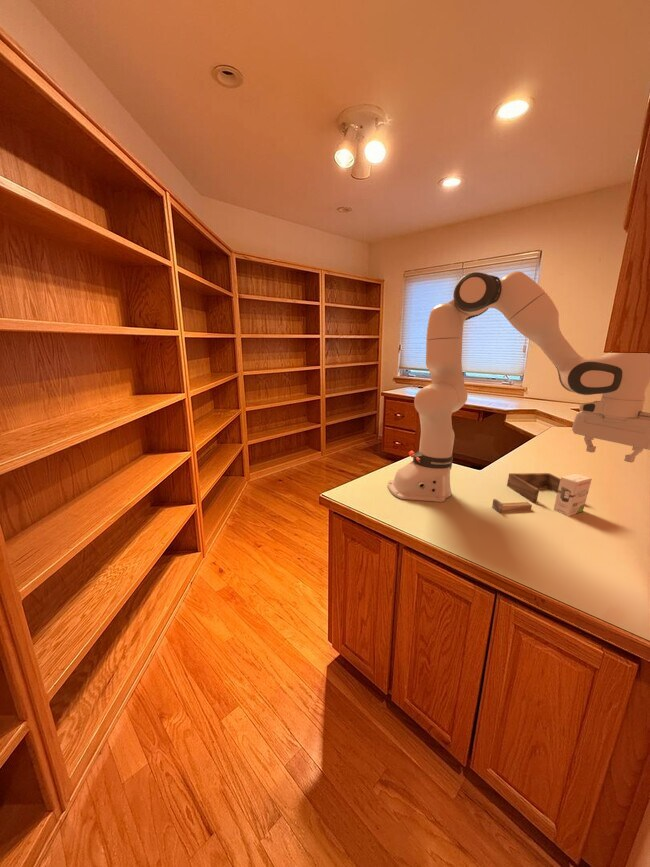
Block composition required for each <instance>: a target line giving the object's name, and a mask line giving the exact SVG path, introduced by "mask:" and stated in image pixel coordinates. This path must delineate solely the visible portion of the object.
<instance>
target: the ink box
mask: <svg viewBox="0 0 650 867" xmlns="http://www.w3.org/2000/svg"><path fill="white" fill-rule="evenodd" d="M560 479H561V480H560V484H559V488H558V493H557V492H556V497H555V502H554V506H553V510H554V511H556V512H558V513H561V514H562V515H563V514H564V515H565V516H568V517H570V516H572V515H575V514H578V513H581V512H583V511H584V509H585V506H586V502H587V499H588V494H589V490H590V487H591V483H592V478H591V477H588V476H585V475H582V474H580V473H579V474H578V473H573V474H568V475H564V476H561V477H560Z"/></svg>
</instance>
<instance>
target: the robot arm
mask: <svg viewBox="0 0 650 867" xmlns="http://www.w3.org/2000/svg"><path fill="white" fill-rule="evenodd" d="M452 297H453V298H452V300H450V301H448V302H444V303H440V304H437V305H435V306H434V307H433V308H432V309H431V311H430V312H429V313H430V314H429V316H428V321H427V322H428V323H427V328H426V341H425V342H426V344H425V345H426V346H425V365H426V368H427V369H428V371H429V375H430V380H431V383H430V384H428V385H427V384H426V385H425V386H424V387H422V388H420V390H418V391H417V393H416V394H415V396H414V399H413V400H414V401H413V403H414V404H413V405H414V408H415V410H416V412H417V413H418V417H419V423H420V436H419V437H420V439H419V448H418V450H417V452H414V451H413V450H410V451H409V452H408V455H409V457H411V458H412V461H409V463H407V464H405V465H404V466H402V467H400V468H399V469H397V471H396V473H395V476H394V479H392V480H389V481H388V482H387V489H388V490H389V492H390V493H391V494H392V496H394V497H396V498H398V499H400V500H409V501H410V500H411V501H412V500H413V501H425V502H438V503H439V502H440V503H443V502H445V500H446V499H448V498H449V497H451V495H452V488H451V487H452V486H451V470H452V467H453V459H454V456H453V449H454V442H455V431H454V429H453V424H452V422H453V420H452V417H453V416H452V415H453V413H456V412H457V411H459V410H460V409H461V408H462V407H464V406H465V404H466V402H467V401H468V391H467V389H466V387H465V379H464V373H463V366H462V362H463V361H462V359H463V358H462V357H463V356H462V353H463V332H464V324H465V322H466V321H468V320H470V319H473V318H476V317H479V316H480V315H483V314H484V313H486V312H487V311H488V310H489V309H496V310H497V311H499V312H500V313H501V314H502V315H503V316H504V317H505V319H506V320H507V321H508V322H509V323H510V324H511V326H512V327H513V328H514V329H516V330H517V331H518V332H519V333H520V334H521V335H523V336H524V337H526V338H527V339H528V340H530V341H531V342H533V343H534V344H535V345H536V346H538V347H539V348H540V350H541V351H543V353H544V354H545V355H546V356H547V357H548V359H549V360H550V362H551V363H552V364H553V365H554V366H555V368H556V370H557V373H558V380H559V383H560V385H561V386H562V387H563V388H564V390H567V391H568V392H571V393H575V394H577V395H581V396H593V395H601V398H600V399H601V400H595V401H593V402H584V403H581V404H580V405H579V408H578V409H579V411H578V412H577V413H576V415H575V416H574V419H573V422H572V427H571V428H572V429H571V431H572V432H573V434H574V435H577V436H584V438H583V441H584V443H585V445H586V450H585V451H586V452H588V453H592V454H593V453H595V452H596V449H597V446H595V445H594V443H593V440H594V439H598V440H603V441H607V442H611V443H615V444H620V445H625V446H631V447H632V449H631V450H632V451H633V452H632V453H628V454H624V455H625V457H624V459H623V460H624V461H625V462H627V463H630V464H631V463H634V462H635V460H636V457H637V456H638V455H639V454H641V453H643V451H644V450H648V451H650V412H648V411H647V412H646V411H643V410H644V406H645V401H646V391H647V390H646V389H647V388H648V386H649V385H650V354H648V353H610V352H608V353H605V354H603V355H600V356H597V357H593V358H590V359H587V358H585V357H583V356H581V355H580V354H579V353H577V351H576V350H575V349H574V347H572V345H571V344H570V343H569V341H568V340H567V339H566V338H565V336H564V335H563V333H562V331H561V329H560V324H559V323H560V322H559V319H560V318H559V315H560V314H559V311H558V309H557V306H556V305H555V303H554V301H553V299H552V298H551V297H550V296H549V294H548V293H547V292H546V291H545V290H544V289H543V288H542V287H541V286H540V285H539V284H538V283H537V282H536V281H535V280H534V279H532V278H531V277H530V276H529V275H528V274H525V273H524V272H522V271H519V270H517V271H512V272H510V273H507V274H505V275H504V276H503V277H501V278H499V276H495V275H491V274H487V273H483V272H479V271H476V272H470V273H467V274H465V275H463V277H461V278H460V279H459V280H458V282H457V283H456V285H455V287H454V288H453V296H452Z"/></svg>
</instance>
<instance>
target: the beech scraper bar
mask: <svg viewBox="0 0 650 867" xmlns="http://www.w3.org/2000/svg"><path fill="white" fill-rule="evenodd" d="M532 507H533V504H532V503H530V502H528V501H524V502H523V501H522V502H521V501H520V502H519V501H518V502H503V503H502V502H501V501H499V500H498V499H497V498H493V500H492V505H491V509H493V510H495V511H496V512H497V513H498V514H502V512H506V513H507V512H521V511H522V512H523V511H524V512H525V511H532Z"/></svg>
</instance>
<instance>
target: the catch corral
mask: <svg viewBox="0 0 650 867" xmlns="http://www.w3.org/2000/svg"><path fill="white" fill-rule="evenodd" d="M560 480H561V477H557V476H555V475H554V474H552V473H549V472H544V473H543V472H539V473H538V472H537V473H536V472H532V473H531V472H528V473H526V472H524V473H521V472H520V473H519V472H518V473H515V472H514V473H511V472H510V473H508V477H507V481H506V482H507V483H506V487H508V488H509V489H510V490H513V491H514V492H516V494H517V493H518V494H519V495H521V496H522V497H523V498H525V499H526V500H528V501H529V502H531V504H532V503H533V504H536V503H537V502H538V497H539V492H540V489H539V488H538V487H544V488H545V487H546V488H548V489H550V490H551V491H554V492H555V493H556V494H557V493H558V488H559V484H560Z"/></svg>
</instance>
